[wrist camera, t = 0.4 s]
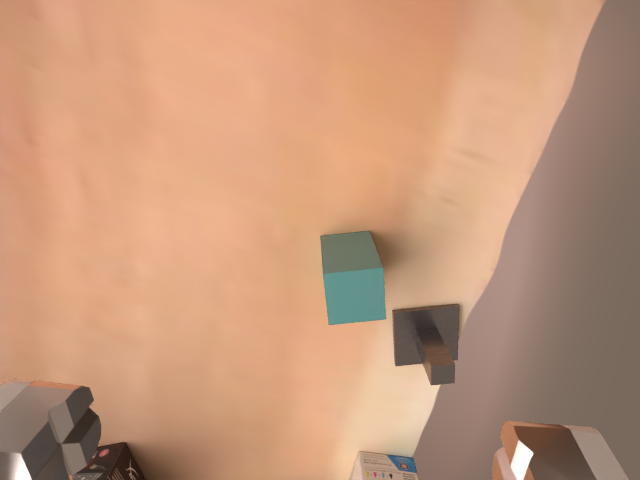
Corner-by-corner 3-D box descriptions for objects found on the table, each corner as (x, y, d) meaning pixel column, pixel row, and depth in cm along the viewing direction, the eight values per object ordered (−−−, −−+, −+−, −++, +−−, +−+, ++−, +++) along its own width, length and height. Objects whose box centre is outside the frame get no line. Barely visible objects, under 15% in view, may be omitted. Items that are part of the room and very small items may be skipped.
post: (392, 310, 52) (405, 348, 45) (457, 303, 52) (480, 340, 45) (394, 363, 55) (407, 406, 48) (456, 357, 55) (477, 399, 48)
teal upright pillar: (320, 236, 48) (323, 274, 39) (369, 230, 48) (383, 267, 39) (325, 279, 50) (328, 325, 41) (372, 274, 50) (386, 319, 41)
